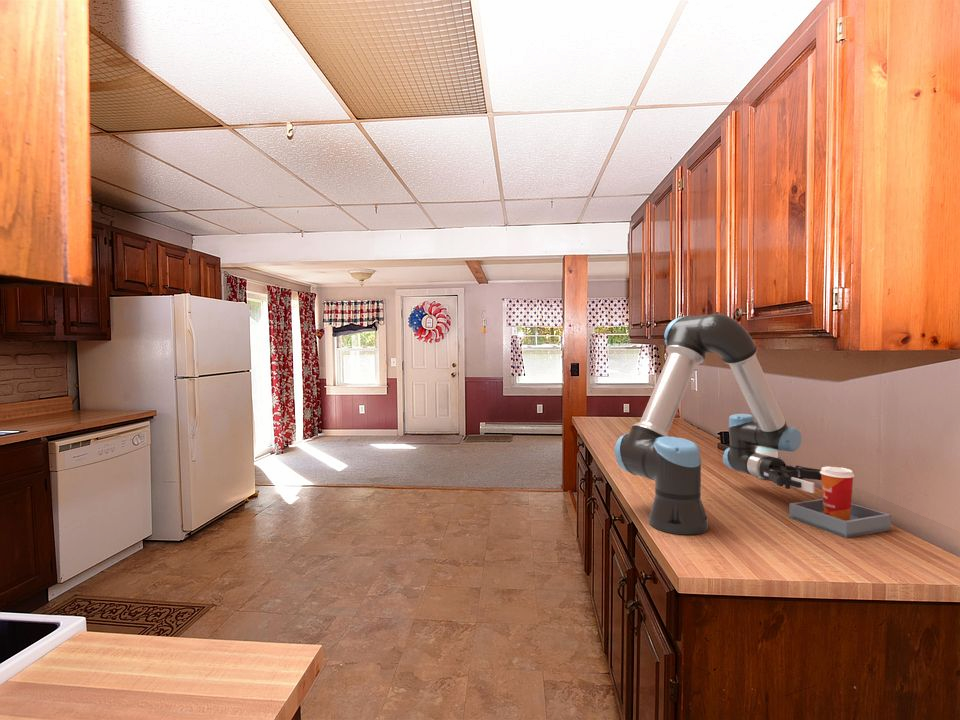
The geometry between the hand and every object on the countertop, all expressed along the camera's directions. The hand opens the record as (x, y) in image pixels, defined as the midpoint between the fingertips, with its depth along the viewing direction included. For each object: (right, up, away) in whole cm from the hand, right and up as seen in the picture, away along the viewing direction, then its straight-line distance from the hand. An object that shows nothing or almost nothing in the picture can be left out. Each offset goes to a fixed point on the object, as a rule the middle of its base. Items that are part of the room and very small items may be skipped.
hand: (832, 485), depth 135 cm
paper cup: (0, -9, -1) cm, 9 cm away
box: (0, -10, -2) cm, 10 cm away
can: (+8, -9, +45) cm, 46 cm away
